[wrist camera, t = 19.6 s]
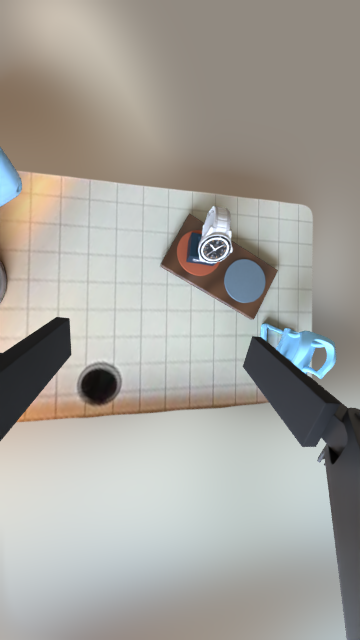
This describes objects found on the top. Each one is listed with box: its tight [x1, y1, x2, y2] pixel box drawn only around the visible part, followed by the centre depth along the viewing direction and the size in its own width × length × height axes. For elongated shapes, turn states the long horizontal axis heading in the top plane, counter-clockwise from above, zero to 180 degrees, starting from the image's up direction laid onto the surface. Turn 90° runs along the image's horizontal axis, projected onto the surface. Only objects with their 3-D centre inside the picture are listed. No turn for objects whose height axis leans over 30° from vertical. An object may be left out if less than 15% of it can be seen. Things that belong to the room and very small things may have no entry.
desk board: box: [161, 214, 278, 319], centre depth 38 cm, size 22×12×1 cm, turn 62°
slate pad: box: [224, 259, 265, 303], centre depth 38 cm, size 9×9×1 cm
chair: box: [261, 323, 336, 379], centre depth 34 cm, size 8×8×12 cm
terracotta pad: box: [177, 230, 220, 276], centre depth 36 cm, size 9×9×1 cm
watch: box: [186, 206, 233, 266], centre depth 31 cm, size 6×8×11 cm
